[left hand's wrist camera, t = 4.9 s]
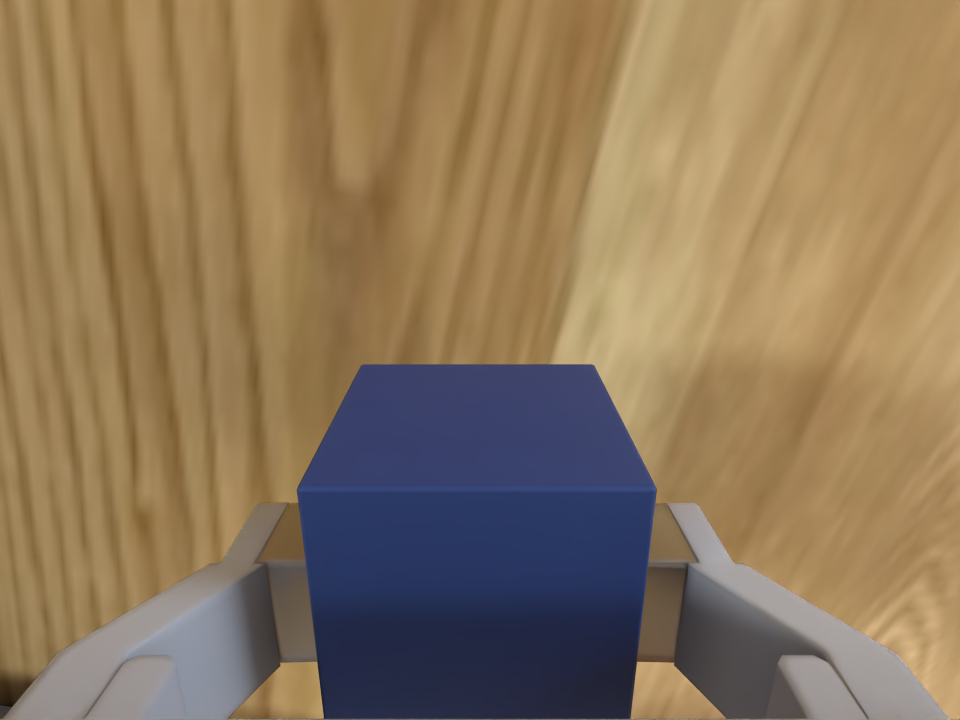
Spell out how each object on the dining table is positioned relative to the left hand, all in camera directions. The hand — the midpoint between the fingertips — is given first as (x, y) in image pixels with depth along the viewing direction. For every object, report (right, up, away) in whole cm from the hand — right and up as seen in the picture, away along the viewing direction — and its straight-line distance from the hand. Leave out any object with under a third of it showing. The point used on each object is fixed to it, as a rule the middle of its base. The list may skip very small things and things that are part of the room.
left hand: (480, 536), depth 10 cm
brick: (0, 0, +2) cm, 2 cm away
